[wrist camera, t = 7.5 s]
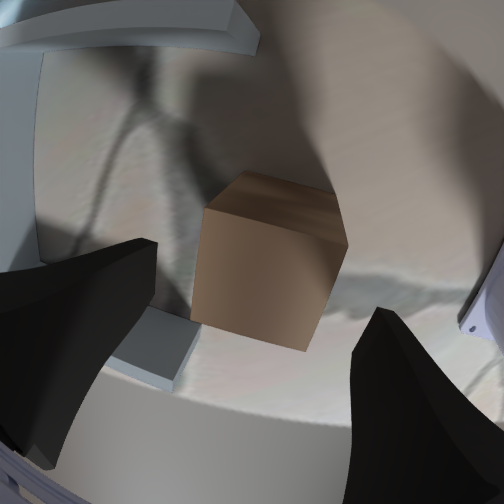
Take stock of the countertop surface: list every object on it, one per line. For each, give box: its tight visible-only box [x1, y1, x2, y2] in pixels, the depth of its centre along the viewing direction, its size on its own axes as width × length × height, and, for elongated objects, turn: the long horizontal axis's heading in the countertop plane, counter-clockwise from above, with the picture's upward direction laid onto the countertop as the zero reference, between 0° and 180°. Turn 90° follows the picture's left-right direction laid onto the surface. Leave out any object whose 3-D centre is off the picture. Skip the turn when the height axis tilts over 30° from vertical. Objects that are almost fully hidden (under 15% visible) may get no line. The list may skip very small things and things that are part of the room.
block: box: [190, 171, 348, 352], centre depth 13 cm, size 4×4×6 cm
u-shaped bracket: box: [0, 0, 261, 393], centre depth 14 cm, size 15×18×5 cm
